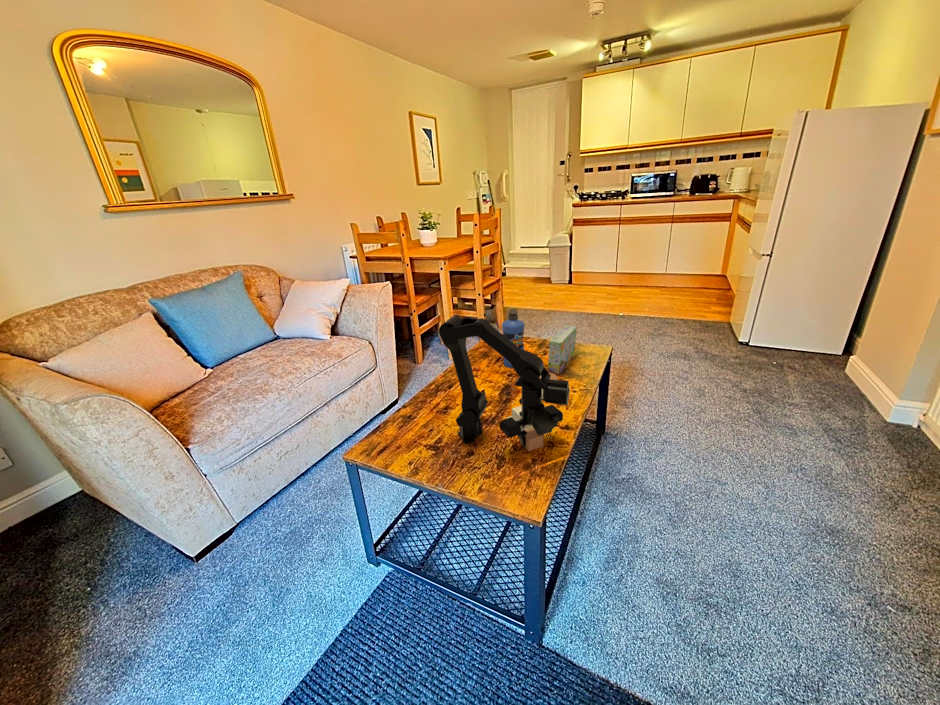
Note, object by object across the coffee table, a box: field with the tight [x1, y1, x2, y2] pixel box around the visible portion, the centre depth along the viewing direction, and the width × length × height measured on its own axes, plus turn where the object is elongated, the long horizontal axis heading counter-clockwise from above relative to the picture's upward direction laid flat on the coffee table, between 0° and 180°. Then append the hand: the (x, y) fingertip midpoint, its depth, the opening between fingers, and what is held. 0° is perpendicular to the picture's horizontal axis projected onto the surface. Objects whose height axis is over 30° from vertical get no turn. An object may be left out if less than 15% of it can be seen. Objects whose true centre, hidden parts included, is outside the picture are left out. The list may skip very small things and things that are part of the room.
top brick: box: [519, 427, 544, 452], centre depth 118 cm, size 5×5×5 cm
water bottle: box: [501, 308, 525, 369], centre depth 169 cm, size 9×9×25 cm
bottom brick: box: [511, 405, 531, 427], centre depth 129 cm, size 10×5×5 cm, turn 114°
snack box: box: [547, 324, 578, 377], centre depth 167 cm, size 21×6×15 cm, turn 150°
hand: (531, 444), depth 119 cm, fingers closed on top brick, 5 cm apart
